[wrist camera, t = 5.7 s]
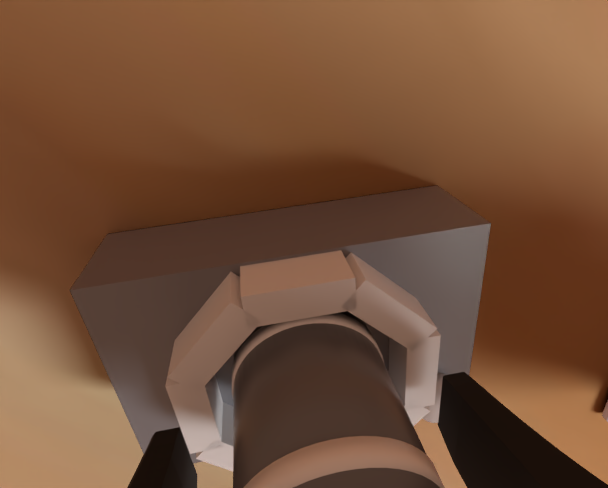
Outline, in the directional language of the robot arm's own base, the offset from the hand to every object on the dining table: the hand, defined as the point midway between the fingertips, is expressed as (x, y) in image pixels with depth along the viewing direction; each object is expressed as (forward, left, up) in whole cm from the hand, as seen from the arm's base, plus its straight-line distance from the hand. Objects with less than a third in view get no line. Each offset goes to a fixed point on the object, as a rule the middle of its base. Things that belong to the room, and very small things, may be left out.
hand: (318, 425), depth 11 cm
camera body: (0, 0, -6) cm, 6 cm away
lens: (0, 0, -2) cm, 3 cm away
